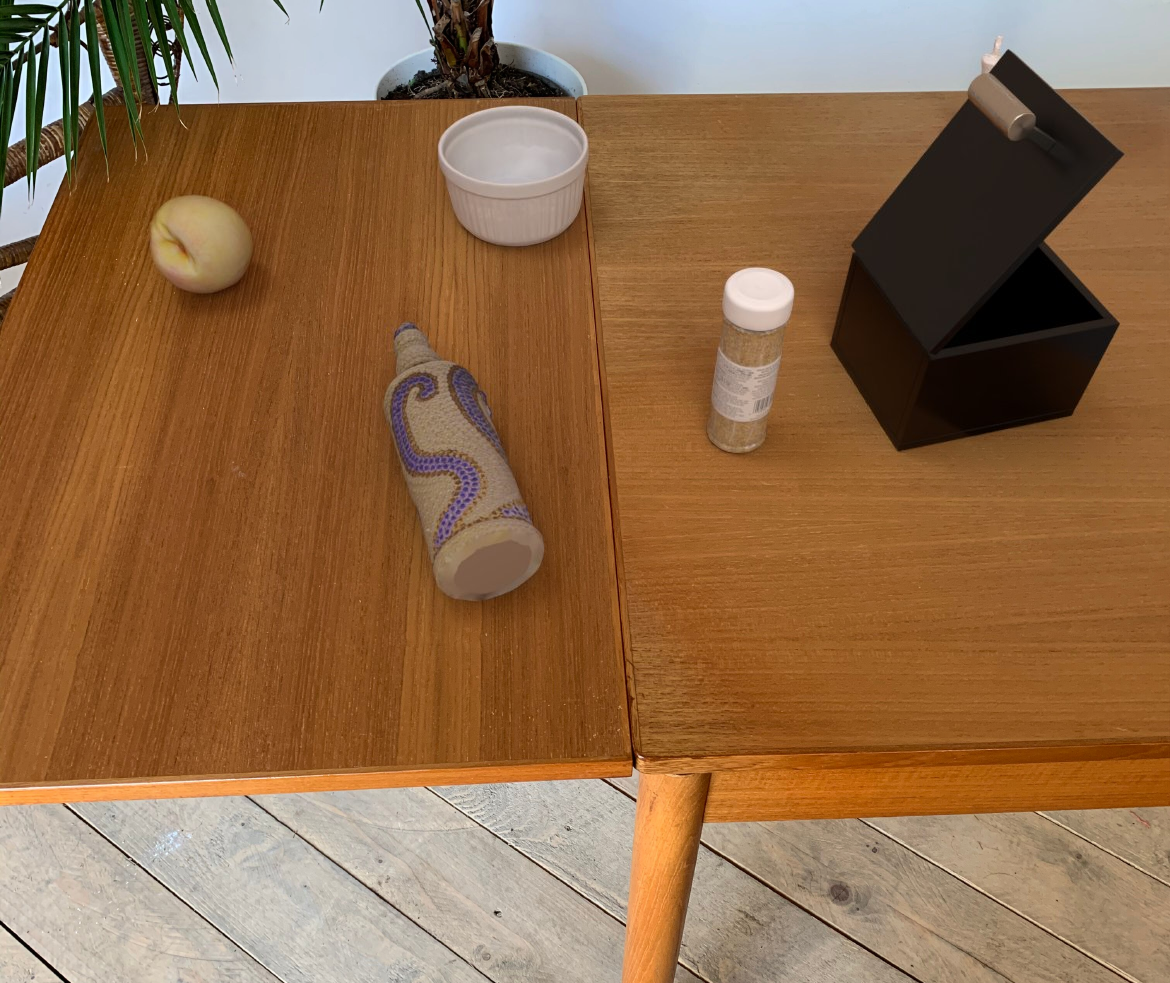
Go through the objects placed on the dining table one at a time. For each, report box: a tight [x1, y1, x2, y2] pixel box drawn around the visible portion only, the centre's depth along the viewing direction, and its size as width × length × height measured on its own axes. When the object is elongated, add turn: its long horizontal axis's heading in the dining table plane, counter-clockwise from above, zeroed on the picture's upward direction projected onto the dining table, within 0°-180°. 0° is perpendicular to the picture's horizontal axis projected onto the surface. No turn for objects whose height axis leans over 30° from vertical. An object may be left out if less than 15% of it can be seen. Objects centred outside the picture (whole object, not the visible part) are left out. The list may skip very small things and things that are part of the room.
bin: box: [829, 240, 1121, 452], centre depth 76 cm, size 15×13×9 cm
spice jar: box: [706, 266, 795, 454], centre depth 71 cm, size 5×5×14 cm
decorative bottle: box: [382, 321, 545, 602], centre depth 72 cm, size 26×8×7 cm, turn 18°
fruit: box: [149, 194, 254, 294], centre depth 84 cm, size 8×8×8 cm
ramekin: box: [437, 105, 590, 247], centre depth 91 cm, size 13×13×7 cm
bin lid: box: [850, 48, 1125, 356], centre depth 66 cm, size 16×13×5 cm
